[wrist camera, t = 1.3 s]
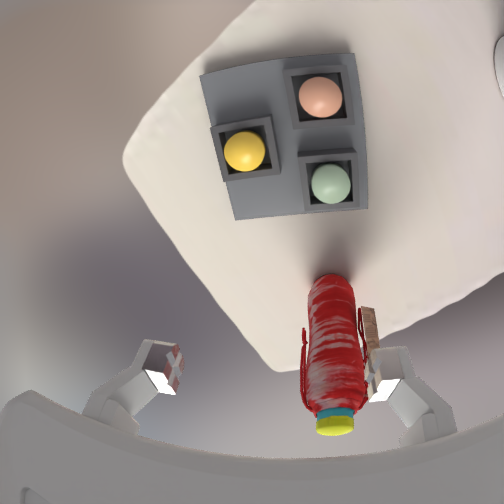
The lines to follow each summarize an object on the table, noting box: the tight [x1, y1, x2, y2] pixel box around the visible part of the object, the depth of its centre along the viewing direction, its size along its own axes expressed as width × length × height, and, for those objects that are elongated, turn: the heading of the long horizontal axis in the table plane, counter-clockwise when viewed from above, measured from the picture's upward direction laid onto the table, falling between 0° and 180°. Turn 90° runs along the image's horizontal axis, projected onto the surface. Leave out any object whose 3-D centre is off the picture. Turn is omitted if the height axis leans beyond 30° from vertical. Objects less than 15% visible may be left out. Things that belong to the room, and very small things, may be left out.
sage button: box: [311, 162, 351, 204], centre depth 30 cm, size 4×4×2 cm
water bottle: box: [300, 274, 380, 436], centre depth 34 cm, size 12×8×25 cm, turn 94°
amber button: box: [224, 130, 266, 171], centre depth 29 cm, size 4×4×2 cm
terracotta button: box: [299, 77, 342, 117], centre depth 24 cm, size 4×4×2 cm
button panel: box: [199, 53, 368, 220], centre depth 30 cm, size 18×20×4 cm
